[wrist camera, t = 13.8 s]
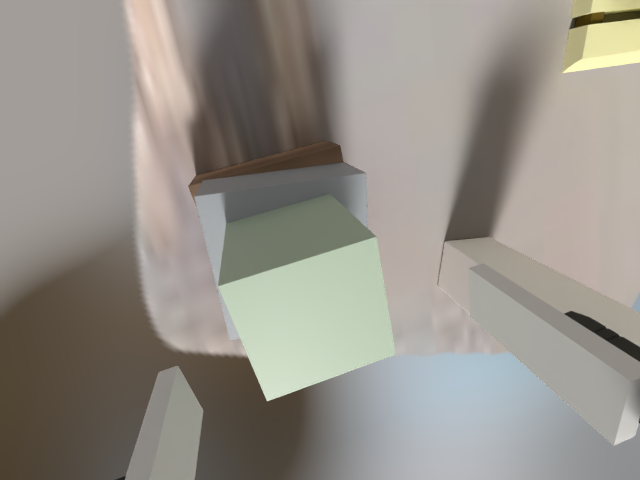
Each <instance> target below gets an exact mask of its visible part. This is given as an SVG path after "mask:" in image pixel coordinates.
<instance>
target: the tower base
mask: <svg viewBox="0 0 640 480" xmlns="http://www.w3.org/2000/svg"><path fill="white" fill-rule="evenodd" d="M342 162H343V158H342V153H341V148H340V145H337V144H334V143H331V142H328V141H323V142H319V143H315V144H312V145H308V146H304V147H300V148H297V149H293V150H289V151H285V152H281V153H278V154H274V155H270V156H266V157H263V158H259V159H255V160H251V161H248V162H244V163H240V164H236V165H233V166H229V167H225V168H221V169H218V170H214V171H210V172H206V173H202V174H199V175H196V176H195V178H194V179H193V180H192V182H191V183H190V185H189V186H188V187H189V189H190V192H191V194H192V197H193V199H194V202H195V198H194V196H195V194H196V192H197V191H198V189H199V187H200V185H201V183H202V182H203V180H210V179H218V178H226V177H234V176H241V175H249V174H257V173H265V172H272V171H280V170H288V169H296V168H303V167H311V166H319V165H327V164H334V163H342ZM195 204H196V202H195ZM196 207H197V206H196Z"/></svg>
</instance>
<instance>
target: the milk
mask: <svg viewBox="0 0 640 480" xmlns="http://www.w3.org/2000/svg"><path fill="white" fill-rule="evenodd" d="M483 263H484V264H486V265H487V266H489V267H490V268H492V269H494V270H495V271H497V272H498V273H500V274H501V275H503V276H505V277H506V278H508V279H509V280H511V281H513V282H514V283H516V284H517V285H519V286H520V287H522V288H524V289H525V290H527V291H528V292H530V293H532V294H533V295H535V296H536V297H538V298H539V299H541V300H543V301H544V302H546V303H547V304H549V305H551V306H552V307H554V308H555V309H557V310H558V311H560V312H562V313H563V314H564V313H567V312H569V311H574V312H576V313H579V314H582V315H585V316H588V317H590V318H592V319H594V320H596V321H597V322H599V323H601V324H602V325H604V326H606V328H607V329H611V330H612V331H614V332H616V333H617V334H619V336H620V337H624V338H626V339H628V340H629V341H631V342H633V343H634V344H636V345H638V346H639V347H640V313H639V312H637V311H635V310H633V309H631V308H629V307H627V306H625V305H623V304H621V303H619V302H617V301H615V300H613V299H611V298H609V297H607V296H605V295H603V294H601V293H599V292H597V291H595V290H593V289H591V288H589V287H587V286H585V285H583V284H581V283H579V282H577V281H575V280H573V279H571V278H569V277H567V276H565V275H563V274H561V273H559V272H558V271H556V270H554V269H552V268H550V267H548V266H546V265H544V264H542V263H540V262H538V261H536V260H534V259H532V258H530V257H528V256H526V255H524V254H522V253H520V252H518V251H516V250H514V249H512V248H510V247H508V246H506V245H504V244H502V243H500V242H498V241H496V240H494V239H492V238H490V237H483V238H473V239H463V240H453V241H445V242H444V249H443V255H442V261H441V268H440V274H439V281H438V287H439V288H441V289H442V290H443V291H444V292H445V293H446V294H447V295H448V296H450V297H451V298H452V299H453V300H454V301H455V302H456V303H457V304H459V305H460V306H461V307H462V308H463V309H464V310H465V311H467V312H468V313H469V314H470V304H469V268H471V267H474V266H477V265H480V264H483Z"/></svg>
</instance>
